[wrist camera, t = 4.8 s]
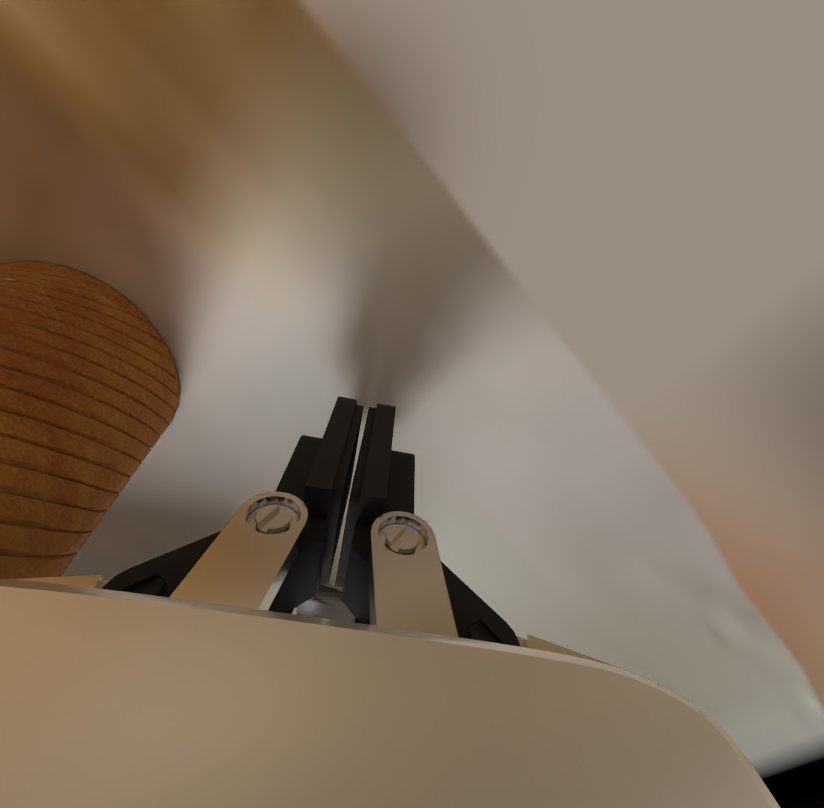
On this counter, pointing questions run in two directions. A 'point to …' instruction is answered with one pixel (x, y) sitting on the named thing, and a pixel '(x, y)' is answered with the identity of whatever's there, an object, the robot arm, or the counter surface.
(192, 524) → the counter surface
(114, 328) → the disposable coffee cup
